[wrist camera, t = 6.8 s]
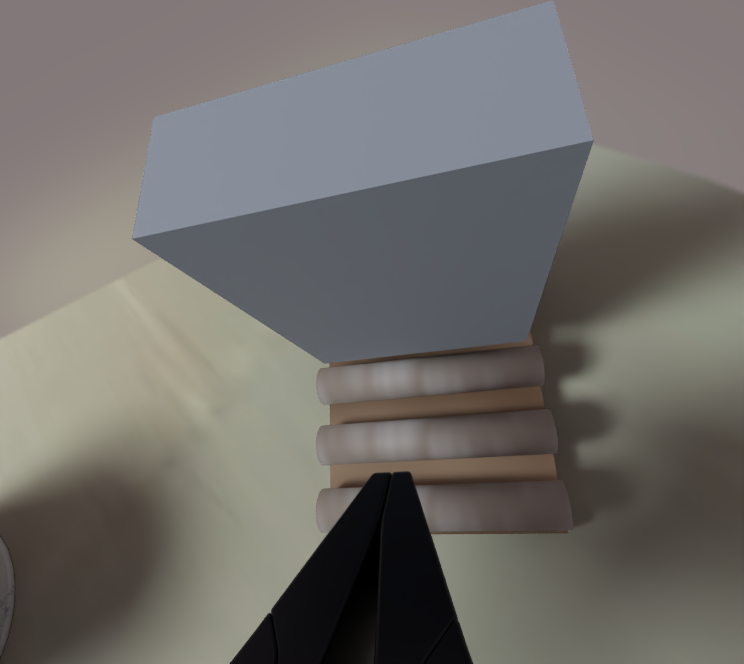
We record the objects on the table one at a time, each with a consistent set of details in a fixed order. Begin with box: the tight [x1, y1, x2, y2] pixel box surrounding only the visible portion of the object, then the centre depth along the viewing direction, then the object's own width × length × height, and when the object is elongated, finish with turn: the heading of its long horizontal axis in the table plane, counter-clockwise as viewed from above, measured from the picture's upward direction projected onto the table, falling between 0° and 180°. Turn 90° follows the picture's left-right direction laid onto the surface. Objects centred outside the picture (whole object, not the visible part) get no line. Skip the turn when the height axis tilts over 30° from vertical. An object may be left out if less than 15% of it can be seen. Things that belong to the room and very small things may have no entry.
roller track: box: [316, 323, 573, 534], centre depth 16 cm, size 11×9×5 cm
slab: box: [132, 0, 594, 364], centre depth 12 cm, size 3×8×10 cm, turn 92°
